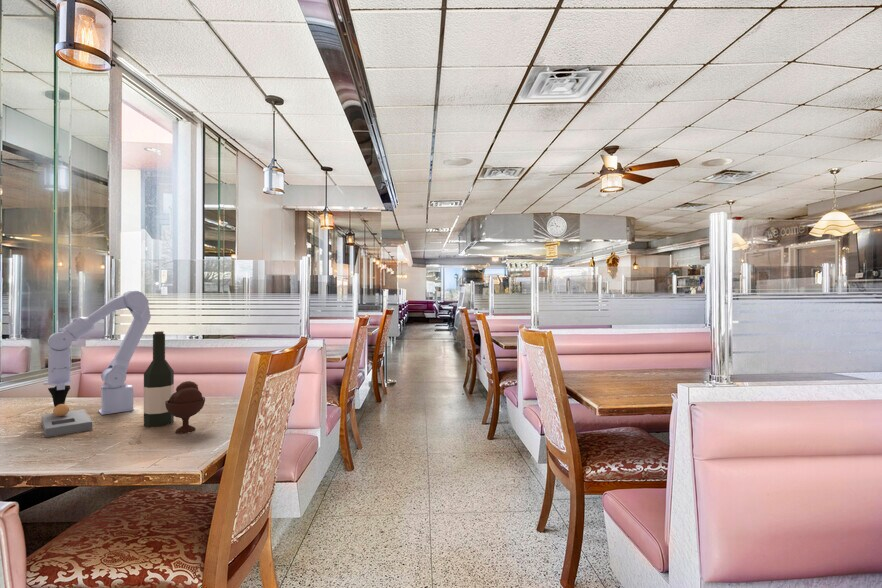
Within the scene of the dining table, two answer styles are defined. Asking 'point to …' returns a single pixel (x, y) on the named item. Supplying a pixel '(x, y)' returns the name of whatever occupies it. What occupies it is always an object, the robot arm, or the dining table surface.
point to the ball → (61, 410)
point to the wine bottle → (158, 386)
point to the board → (66, 423)
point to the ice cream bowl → (185, 404)
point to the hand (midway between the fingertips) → (59, 408)
